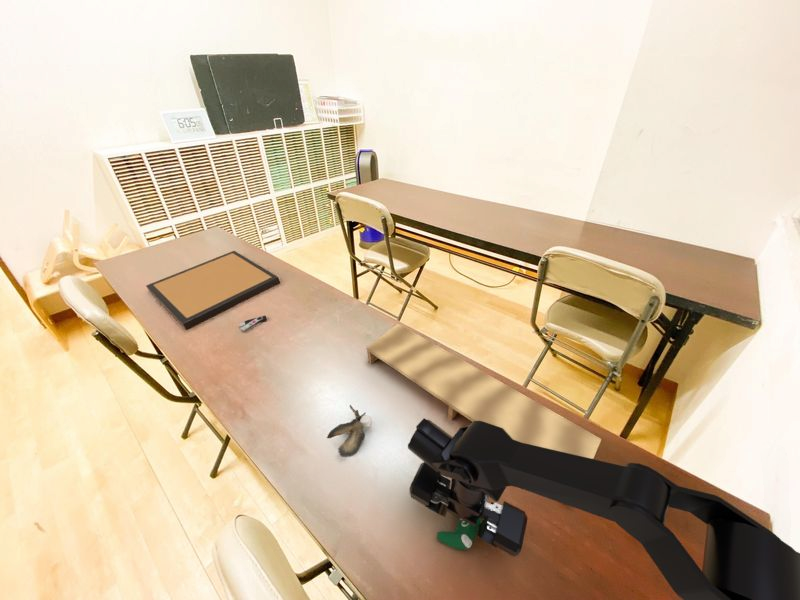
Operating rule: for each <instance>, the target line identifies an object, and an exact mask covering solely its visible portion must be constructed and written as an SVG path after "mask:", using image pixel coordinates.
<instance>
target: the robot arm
mask: <svg viewBox="0 0 800 600" xmlns="http://www.w3.org/2000/svg"><path fill="white" fill-rule="evenodd" d="M407 450H409V451H410V452H411V453H412V454H413V455H415V456H416V457H417V458H418V459H420V460H421V461H422V462H421V463H420V464H419V467H418V469H417V471H416V473H415V475H414V477H413V479H412V481H411V483H410V486H409V496H410V498H411V499H412V500H414V501H416V502H418V503H419V504H421V505H422V506H424V507H425V508H427V509H429V510H430V511H432V512H434V513H435V514H437V515H439V516H441V517H444V518H446V516H447V514H448V513H450V514H451V515H453V516H455V517H457V518H459V520H460V519H462V520H464V521H466V522H467V523H469V524H471V525H473V526H476V523H477V520H478V518H480V517H482V520H481V523H480V526H479V528H478V531H477V533H476V536H477V537H478V538H479V539H481V540H483V541H484V542H486V543H487V544H489V545H491V546H493V547H495V548H498V549H500V550H501V551H503V552H504V553H506V554H508V555H509V556H512V557H517V556H519V555H520V553H521V552H522V548H523V544H524V540H525V539H524V538H525V535H526V529H527V523H528V516H527V513H526V511H525V510H523V509H521V508H519V507H518V506H515V505H513V504H512V503H509V502H507V501H505V500H503V503H502V504H500V503H499V500H500V499H501V497H502V495H503V493H504V492H505V490H506V488H508V487H514V488H518V489H521V490H524V491H527V492H529V493H532V494H535V495H539V496H541V497H544V498H547V499H549V500H552V501H555V502H558V503H560V504H563V505H566V506H568V507H572V508H574V509H577V510H580V511H583V512H585V513H589V514H591V515H593V516H597V517H599V518H602V519H605V520H608V521H610V522H614V523H615V524H617V525H618V526H619V527H620V528H621V529H622V530H623V531H625V532H626V533H627V534H628V535H630V536H631V537H632V538H634V539H635V540H636V541H637V542H639V543H640V544H641V545H642V547H643V548H644V550H645V551H646V553H647V554H648V555H649V557H650V558H651V560H652V562H653V563H654V564H655V566H656V567H657V569H658V570H659V572H660V573H661V574H662V576H663V578H664V579H665V580H666V582H667V583H668V585H669V587H670V588H671V589H672V590H673V592H674V593H675V594H676V595H677V596H678V597H679V598H680V599H681V600H800V552H799V551H797V550H796V549H794V548H793V547H792V546H790V545H789V544H788V543H786V542H784V540H782V539H781V538H780V537H779V536H778V535H776V534H775V533H774V532H773V531H772V530H770V529H769V528H767V527H766V526H764V525H763V524H761V523H759V522H758V521H756V520H755V519H754V518H752V517H750V516H749V515H748V514H746V513H744V512H743V511H742V510H740V509H738V508H737V507H736V506H734V505H733V504H731V503H729V502H728V501H727V500H725V499H724V498H722V497H720V496H718V495H716V494H712V493H708V492H704V491H700V490H696V489H692V488H687V487H684V486H679V485H677V484H676V483H674V482H673V481H672V480H670V479H668V478H667V477H666V476H664V475H663V474H662V473H660V472H658V471H656V470H655V469H653V468H652V467H650V466H648V465H645V464H641V463H639V462H628V463H625V464H624V465H622V464H617V463H613V462H609V461H605V460H599V459H595V458H594V459H591V458H587V457H583V456H578V455H574V454H570V453H565V452H561V451H557V450H552V449H548V448H544V447H539V446H535V445H531V444H526V443H522V442H519V441H516V440H514V439H512V438H511V436H510V435H509V434H508V433H507V432H506V431H505V430H504V429H503V428H501V427H498V426H495V425H492V424H489V423H486V422H483V421H473V422H472V421H471V423H470V424H465V425H461V426H460V428H459V429H458V430H457V431H456V432H455V433H454V435H453V436H452V435H451V434H449V433H448V432H447V431H446V430H444V429H443V428H441V427H440V426H438V425H437V424H436V423H435V422H433V421H432V420H430V419H427V418H425V417H423V418H422V420H420V422H419V423H418V424H417V425H416V429H415V431H414V433H413V434H412V436H411V437H410V441H409V442H408V443H407ZM488 498H490V499H491V500H493V501H494V502H493V501H491V502H490V503H489V502H488V501H487V500H488ZM669 508H671V509H675V510H678V511H684V512H687V513H690V514H692V515H693V516H694V517H696V518H697V519H699V520H700V521H702V522H703V523H704V524H705V525H706V533H705V534H706V535H705V541H704V551H703V557H702V558H703V559H702V568H700V567H699V565H698V564H697V562H696V561H695V560H694V559H693V557H692V556H691V554H689V552H688V551H687V549H686V548H685V547H684V545H683V544H682V542H680V540H679V539H678V537H677V536H676V535H675V533H674V532H673V531H672V530H671V529H670V528H669V527H667V526H666V525H665V524H666V519H667V514H668V509H669Z"/></svg>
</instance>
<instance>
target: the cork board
mask: <svg viewBox="0 0 800 600" xmlns="http://www.w3.org/2000/svg"><path fill="white" fill-rule="evenodd" d="M279 284H281V281H280V278H279V276H277V275H276V274H274V273H272V272H270V271H269V270H268V269H266V268H264V267H262V266H261V265H259V264H257V263H256V262H254V261H252V260H251V259H250V258H248V257H245V256H244V255H242V254H241V253H239V252H237V251H236V250H233V251H230V252H227V253H224V254H222V255H220V256H217V257H214V258H212V259H210V260H206V261H205V262H202V263H199V264H197V265H194V266H192V267H189V268H187V269H185V270H182V271H179V272H177V273H174V274H172V275H169V276H166V277H164V278H162V279H159V280H157V281H154V282H151V283H149V284H146V285H145V287H146V288H147V291H148V292H149V293H150V294H151V295H152V296H153V297H154V298H155V299H156V300H157V301H158V302H159V304H160V305H161V306H162V307H163V308H164V309H165V310H166V311H167V312H168V313H169V315H171V316H172V317H173V318H174V319H175V320H176V321H177V323H179V324H180V325H181V326H182V328H184V330H186V331H189V330H190V329H192V328H195V327H196V326H198V325H200V324H203V323H204V322H206V321H209V320H210V319H212V318H214V317H216V316H218V315H220V314H222V313H224V312H226V311H228V310H229V309H232V308H234V307H235V306H238V305H239V304H242V303H243V302H246V301H248V300H250V299H251V298H253V297H256V296H257V295H259V294H261V293H264V292H265V291H267V290H269V289H272V288H273V287H275V286H278V285H279Z"/></svg>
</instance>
